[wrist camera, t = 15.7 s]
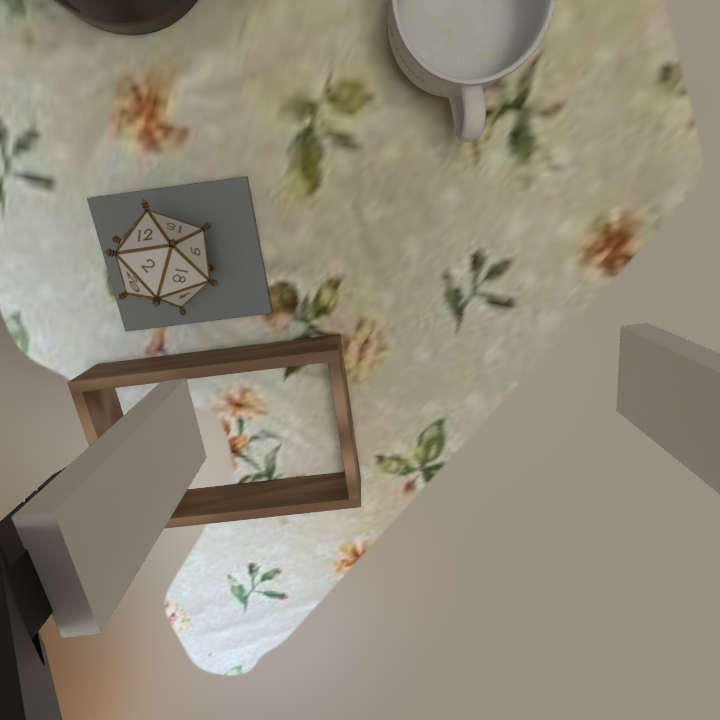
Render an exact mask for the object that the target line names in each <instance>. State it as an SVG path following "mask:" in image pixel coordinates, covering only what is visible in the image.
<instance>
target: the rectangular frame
mask: <svg viewBox="0 0 720 720" xmlns="http://www.w3.org/2000/svg"><path fill="white" fill-rule="evenodd" d="M324 362H328V366H329V372H330V379H331V385H332V392H333V398H334V404H335V411H336V417H337V424H338V430H339V437H340V443H341V449H342V456H343V462H344V469H345V472H341V473H332V474H323V475H314V476H305V477H296V478H287V479H278V480H269V481H260V482H251V483H242V484H233V485H224V486H215V487H206V488H197V489H188V490H187V491H186V492H185V494H184V496H183V497H182V499H181V501H180V502H179V504H178V506H177V507H176V509H175V511H174V512H173V514H172V516H171V517H170V519H169V521H168V522H167V524H166V526H165V527H164V528H172V527H182V526H191V525H200V524H209V523H219V522H228V521H237V520H246V519H256V518H265V517H274V516H283V515H292V514H302V513H311V512H320V511H329V510H339V509H348V508H357V507H361V477H360V470H359V463H358V456H357V449H356V442H355V435H354V428H353V421H352V414H351V407H350V401H349V394H348V387H347V380H346V373H345V366H344V359H343V352H342V345H341V338H340V335H332V336H324V337H315V338H307V339H299V340H291V341H283V342H275V343H266V344H258V345H250V346H242V347H234V348H226V349H217V350H209V351H201V352H193V353H185V354H177V355H168V356H160V357H152V358H144V359H136V360H128V361H119V362H111V363H103V364H97V365H95V366H94V367H92V368H90V369H89V370H87V371H85V372H84V373H82V374H80V375H79V376H77V377H76V378H74V379H72V380H71V381H69V382H68V386H69V388H70V392H71V394H72V397H73V400H74V403H75V406H76V409H77V412H78V415H79V418H80V421H81V424H82V426H83V430H84V433H85V435H86V438H87V441H88V444H89V446H91V445H92V444H93V443H94V442H95V441H96V440H97V439H98V438H99V437H101V436H102V435H103V434H104V433H105V432H106V431H107V430H108V429H109V428H111V427H112V426H113V425H114V424H115V423H116V422H117V421H118V420H119V419H121V418H122V417H123V413H122V410H121V406H120V403H119V400H118V397H117V393H116V390H115V388H117V387H125V386H133V385H142V384H150V383H158V382H162V381H169V380H177V379H185V378H186V379H191V378H200V377H208V376H216V375H225V374H233V373H241V372H250V371H258V370H266V369H274V368H283V367H291V366H299V365H308V364H316V363H324Z"/></svg>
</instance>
